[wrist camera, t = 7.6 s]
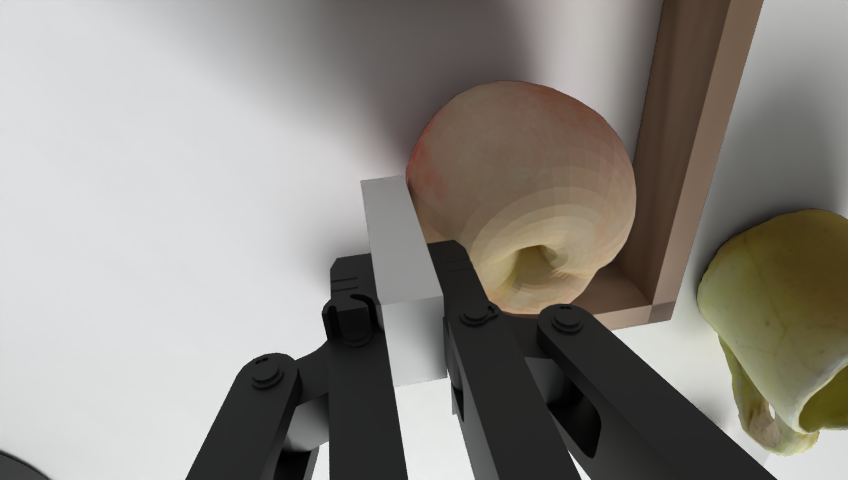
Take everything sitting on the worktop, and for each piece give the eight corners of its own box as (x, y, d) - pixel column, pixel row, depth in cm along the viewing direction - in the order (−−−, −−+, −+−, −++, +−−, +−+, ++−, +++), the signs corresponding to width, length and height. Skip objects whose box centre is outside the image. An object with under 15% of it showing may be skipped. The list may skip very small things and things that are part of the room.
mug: (782, 166, 21) (1030, 360, 16) (855, 187, 27) (1057, 335, 21) (605, 327, 29) (730, 502, 23) (693, 317, 34) (811, 454, 29)
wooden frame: (367, 320, 24) (372, 372, 22) (303, -60, 16) (299, -58, 13) (631, 277, 26) (670, 319, 23) (711, -89, 17) (790, -94, 14)
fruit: (358, 200, 21) (374, 325, 14) (450, 21, 18) (526, 73, 11) (505, 258, 24) (575, 382, 17) (606, 114, 21) (740, 199, 14)
